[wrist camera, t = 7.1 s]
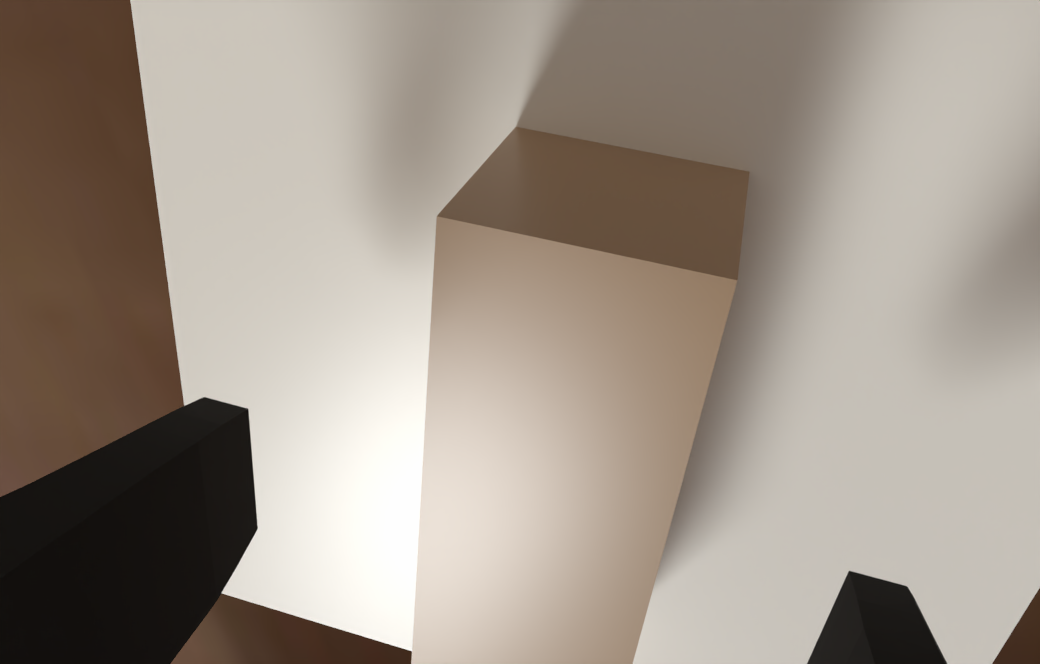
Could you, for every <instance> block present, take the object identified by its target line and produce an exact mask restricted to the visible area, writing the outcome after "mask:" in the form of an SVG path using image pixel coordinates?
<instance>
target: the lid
mask: <svg viewBox="0 0 1040 664" xmlns="http://www.w3.org/2000/svg"><path fill="white" fill-rule="evenodd" d="M130 1H131V8H132V16H133V23H134V31H135V39H136V46H137V54H138V61H139V69H140V76H141V84H142V91H143V99H144V106H145V114H146V121H147V129H148V136H149V144H150V151H151V159H152V166H153V174H154V181H155V189H156V196H157V204H158V211H159V219H160V226H161V234H162V241H163V249H164V257H165V264H166V272H167V279H168V287H169V294H170V302H171V309H172V317H173V324H174V332H175V339H176V347H177V354H178V362H179V369H180V377H181V384H182V392H183V399H184V406H185V405H187V404H190V403H192V402H194V401H196V400H198V399H201V398H203V397H206V398H210V399H214V400H218V401H221V402H225V403H229V404H232V405H236V406H240V407H244V408H247V409H248V411H249V423H250V436H251V449H252V462H253V475H254V487H255V500H256V513H257V526H258V529H257V531H256V533H255V535H254V537H253V539H252V540H251V542H250V544H249V546H248V548H247V549H246V551H245V553H244V555H243V557H242V558H241V560H240V562H239V564H238V566H237V567H236V569H235V571H234V573H233V574H232V576H231V578H230V579H229V581H228V583H227V584H226V586H225V588H224V589H223V591H222V593H223V594H226V595H229V596H232V597H236V598H239V599H242V600H246V601H249V602H252V603H255V604H259V605H262V606H265V607H269V608H272V609H275V610H278V611H282V612H285V613H288V614H292V615H295V616H298V617H301V618H305V619H308V620H311V621H314V622H318V623H321V624H324V625H328V626H331V627H334V628H337V629H341V630H344V631H347V632H351V633H354V634H357V635H360V636H364V637H367V638H370V639H374V640H377V641H380V642H383V643H387V644H390V645H393V646H397V647H400V648H403V649H406V650H410V651H412V662H411V664H807V663H808V660H809V658H810V656H811V654H812V652H813V649H814V647H815V645H816V643H817V640H818V638H819V636H820V634H821V632H822V629H823V627H824V625H825V623H826V620H827V618H828V616H829V614H830V612H831V609H832V607H833V605H834V603H835V600H836V598H837V596H838V594H839V592H840V589H841V587H842V585H843V583H844V580H845V578H846V576H847V574H848V572H849V571H852V572H856V573H860V574H864V575H867V576H871V577H875V578H878V579H882V580H886V581H890V582H893V583H897V584H901V585H904V586H907V587H908V588H909V590H910V592H911V593H912V595H913V596H914V598H915V600H916V602H917V604H918V606H919V608H920V610H921V612H922V614H923V616H924V618H925V620H926V622H927V624H928V626H929V628H930V630H931V632H932V634H933V636H934V638H935V640H936V642H937V644H938V646H939V648H940V650H941V652H942V654H943V656H944V658H945V660H946V662H947V664H992V663H993V661H994V660H995V658H996V657H997V655H998V653H999V652H1000V650H1001V649H1002V647H1003V645H1004V644H1005V642H1006V641H1007V639H1008V637H1009V636H1010V634H1011V633H1012V631H1013V629H1014V628H1015V626H1016V625H1017V623H1018V621H1019V620H1020V618H1021V617H1022V615H1023V613H1024V612H1025V610H1026V609H1027V607H1028V605H1029V604H1030V602H1031V601H1032V599H1033V597H1034V596H1035V594H1036V593H1037V591H1038V590H1039V588H1040V0H130Z"/></svg>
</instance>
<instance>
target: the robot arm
mask: <svg viewBox="0 0 1040 664" xmlns="http://www.w3.org/2000/svg"><path fill="white" fill-rule="evenodd" d="M257 529H258V526H257V513H256V500H255V487H254V475H253V462H252V449H251V436H250V423H249V411H248V409H247V408H244V407H240V406H236V405H232V404H229V403H225V402H221V401H218V400H214V399H210V398H206V397H203V398H201V399H198V400H196V401H194V402H192V403H190V404H187V405H185V406H183V407H181V408H179V409H177V410H175V411H173V412H171V413H169V414H167V415H165V416H163V417H161V418H159V419H157V420H155V421H153V422H151V423H149V424H147V425H145V426H143V427H141V428H139V429H137V430H135V431H134V432H132V433H130V434H128V435H126V436H124V437H122V438H120V439H118V440H116V441H114V442H112V443H110V444H108V445H106V446H104V447H102V448H100V449H98V450H96V451H94V452H92V453H90V454H88V455H86V456H84V457H82V458H80V459H78V460H76V461H74V462H72V463H70V464H68V465H66V466H64V467H62V468H60V469H58V470H56V471H54V472H52V473H50V474H48V475H46V476H44V477H42V478H40V479H38V480H36V481H34V482H32V483H30V484H28V485H26V486H24V487H22V488H19V489H17V490H15V491H13V492H11V493H9V494H6V495H4V496H2V497H0V664H170V663H171V662H172V661H173V659H174V658H175V657H176V655H177V654H178V653H179V651H180V650H181V648H182V647H183V646H184V644H185V643H186V642H187V640H188V639H189V638H190V636H191V635H192V634H193V632H194V631H195V630H196V628H197V627H198V626H199V624H200V623H201V622H202V620H203V619H204V618H205V616H206V615H207V613H208V612H209V611H210V609H211V608H212V607H213V605H214V604H215V602H216V601H217V600H218V598H219V596H220V594H221V593H222V591H223V589H224V588H225V586H226V584H227V583H228V581H229V579H230V578H231V576H232V574H233V573H234V571H235V569H236V567H237V566H238V564H239V562H240V560H241V558H242V557H243V555H244V553H245V551H246V549H247V548H248V546H249V544H250V542H251V540H252V539H253V537H254V535H255V533H256V531H257ZM807 664H947V662H946V660H945V658H944V656H943V654H942V652H941V650H940V648H939V646H938V644H937V642H936V640H935V638H934V636H933V634H932V632H931V630H930V628H929V626H928V624H927V622H926V620H925V618H924V616H923V614H922V612H921V610H920V608H919V606H918V604H917V602H916V600H915V598H914V596H913V595H912V593H911V592H910V590H909V588H908V587H907V586H904V585H901V584H897V583H893V582H890V581H886V580H882V579H878V578H875V577H871V576H867V575H864V574H860V573H856V572H852V571H849V572H848V574H847V576H846V578H845V580H844V583H843V585H842V587H841V589H840V592H839V594H838V596H837V598H836V600H835V603H834V605H833V607H832V609H831V612H830V614H829V616H828V618H827V620H826V623H825V625H824V627H823V629H822V632H821V634H820V636H819V638H818V640H817V643H816V645H815V647H814V649H813V652H812V654H811V656H810V658H809V660H808V663H807Z"/></svg>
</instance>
